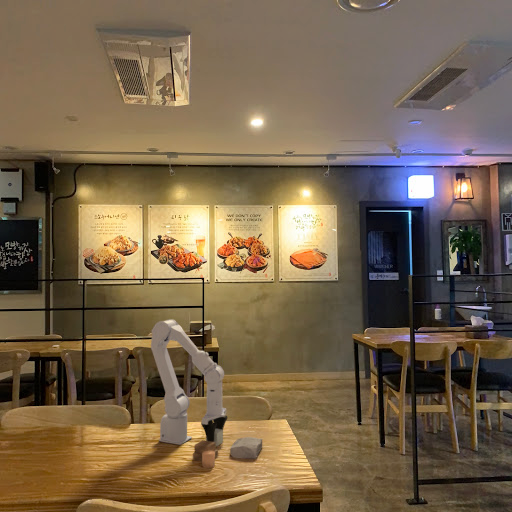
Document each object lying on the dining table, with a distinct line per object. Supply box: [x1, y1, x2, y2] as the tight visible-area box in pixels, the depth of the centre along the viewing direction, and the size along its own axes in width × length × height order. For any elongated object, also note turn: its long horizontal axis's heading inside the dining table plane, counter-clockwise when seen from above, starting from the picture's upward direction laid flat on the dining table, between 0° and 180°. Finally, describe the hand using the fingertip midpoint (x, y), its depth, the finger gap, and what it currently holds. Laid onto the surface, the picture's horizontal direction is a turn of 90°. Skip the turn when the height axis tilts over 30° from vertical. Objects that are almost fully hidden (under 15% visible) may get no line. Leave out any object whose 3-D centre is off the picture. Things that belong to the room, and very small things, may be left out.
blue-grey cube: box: [205, 429, 224, 447], centre depth 162 cm, size 4×4×4 cm
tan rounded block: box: [201, 450, 216, 469], centre depth 142 cm, size 4×4×4 cm
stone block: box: [229, 436, 263, 460], centre depth 153 cm, size 12×5×10 cm
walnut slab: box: [192, 448, 219, 462], centre depth 148 cm, size 6×6×2 cm
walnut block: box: [193, 439, 216, 454], centre depth 148 cm, size 5×5×2 cm
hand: (214, 439), depth 161 cm, fingers open, 5 cm apart
